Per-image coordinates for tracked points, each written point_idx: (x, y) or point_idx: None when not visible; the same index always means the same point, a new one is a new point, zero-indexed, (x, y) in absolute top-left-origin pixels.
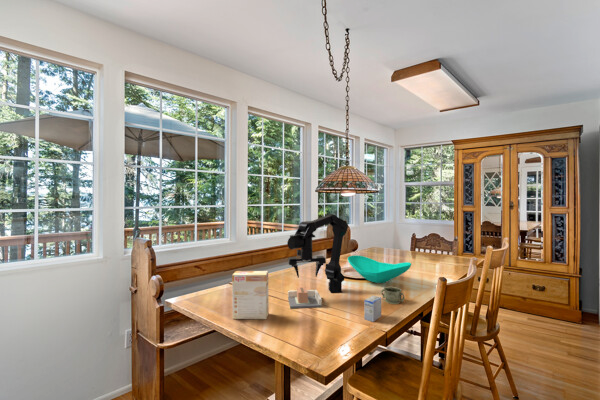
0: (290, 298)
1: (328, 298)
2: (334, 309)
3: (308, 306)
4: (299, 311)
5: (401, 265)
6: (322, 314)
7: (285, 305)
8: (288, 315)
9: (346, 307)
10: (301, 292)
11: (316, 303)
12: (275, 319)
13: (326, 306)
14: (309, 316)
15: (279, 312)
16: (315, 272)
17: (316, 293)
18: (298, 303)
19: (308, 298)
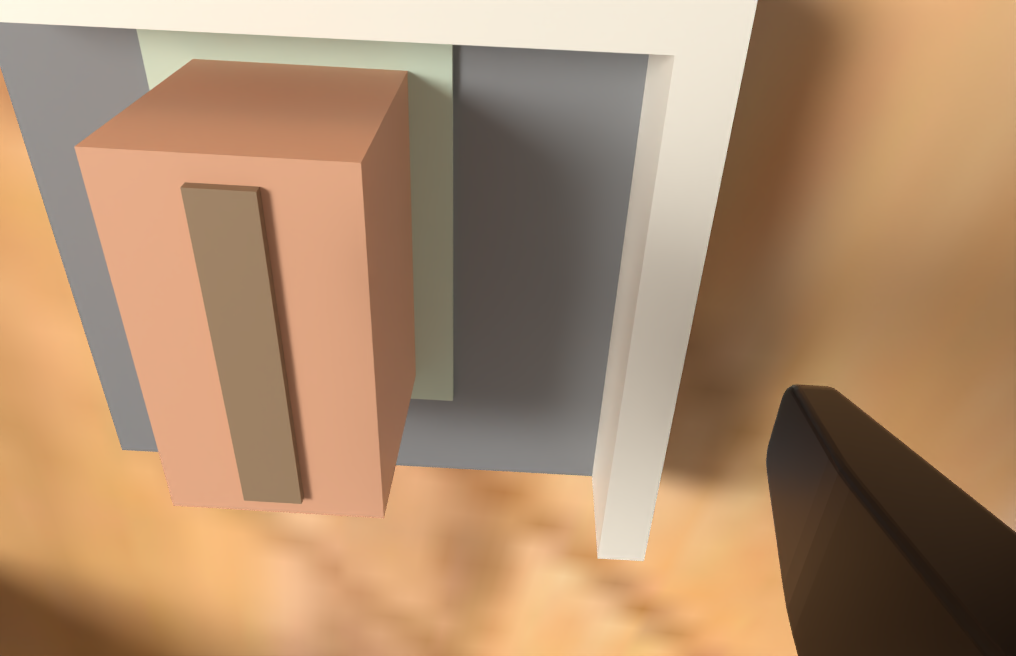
0: (47, 76)
1: (961, 68)
2: None
3: (419, 456)
4: (283, 522)
5: None
6: (569, 625)
7: (30, 301)
8: (149, 591)
9: (1001, 510)
10: (242, 501)
11: (570, 408)
12: (19, 643)
13: (719, 437)
14: (403, 642)
15: (9, 510)
16: (863, 520)
17: (643, 288)
18: None
19: (467, 142)
